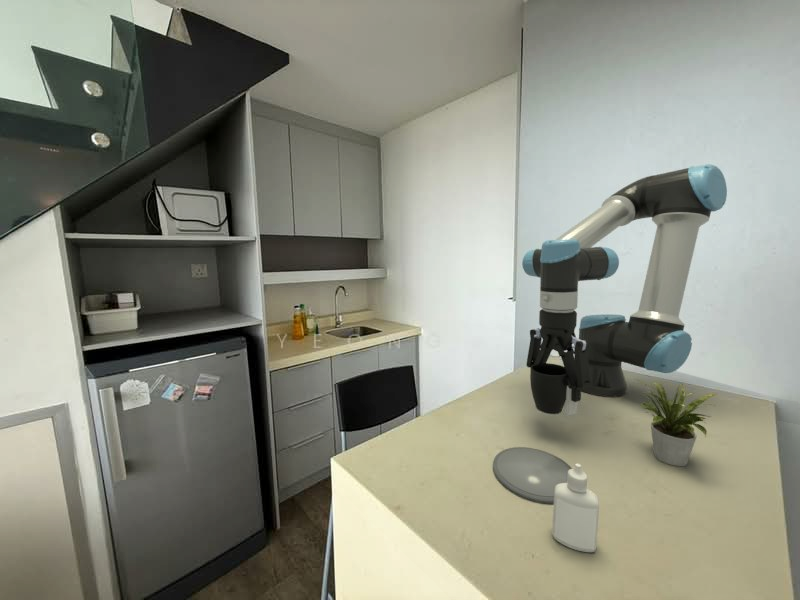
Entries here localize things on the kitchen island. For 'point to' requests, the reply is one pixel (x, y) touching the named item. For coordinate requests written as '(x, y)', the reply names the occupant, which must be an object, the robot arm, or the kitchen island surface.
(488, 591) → the kitchen island surface
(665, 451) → the house plant
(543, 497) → the round gray plate
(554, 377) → the mug
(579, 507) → the eye dropper bottle
